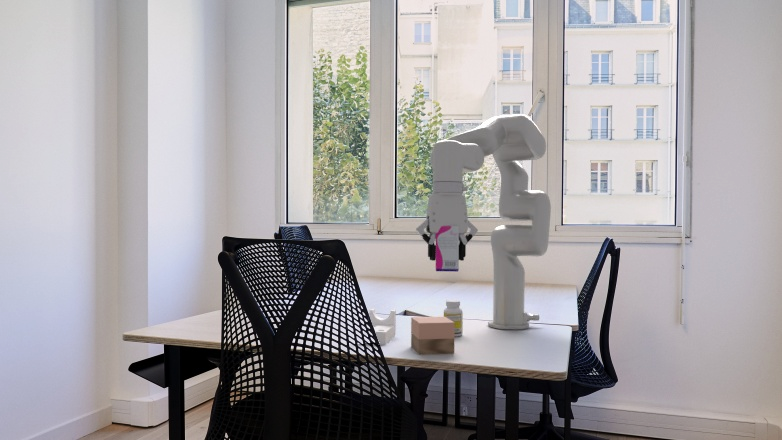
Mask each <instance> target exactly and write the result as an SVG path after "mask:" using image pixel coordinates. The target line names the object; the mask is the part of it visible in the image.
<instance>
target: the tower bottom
mask: <svg viewBox="0 0 782 440" xmlns="http://www.w3.org/2000/svg"><path fill="white" fill-rule="evenodd" d="M410 343H411V344H410V347H411V348H412V350H413V351H414V352H416V354H418V356H419V355H450V354H451V355H452V354H455V338H454V339H418V338H417V337H416V336H414V335H413V334H412V333H411V332H410Z"/></svg>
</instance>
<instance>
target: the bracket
mask: <svg viewBox="0 0 782 440" xmlns="http://www.w3.org/2000/svg"><path fill="white" fill-rule="evenodd" d="M375 309H376V308H370V309H369V311H368V312H369V313H368V314H369V315H368V316H370V319H371V321H372V324H373V327H374V329H375V332H376V335H377V338H378V340H379V342H380V344H379V345H384V344H386V345H387V344H388V343H389V342H390V341H392V339H394V337H396V336H395V335H396V333H397V332H396V330H397V328H396V327H397V326H396V325H397V324H396V322H397V321H396V320H397V319H396V318H397V317H396V316H397V315H396V314H397V310H396V309H391V310H390V313H389V315H388V316H387V317H385V318H382V317H380V316H378V314H377V313H376V310H375Z"/></svg>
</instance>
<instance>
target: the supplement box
mask: <svg viewBox="0 0 782 440" xmlns="http://www.w3.org/2000/svg"><path fill="white" fill-rule="evenodd" d="M435 245H436V260H435V271H436V272H459V269H460V267H459V262H460V260H459V226H441V228H440V229H439V231H438V233H436V239H435Z"/></svg>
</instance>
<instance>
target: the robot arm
mask: <svg viewBox="0 0 782 440" xmlns="http://www.w3.org/2000/svg"><path fill="white" fill-rule="evenodd" d="M432 148H433V149H432V150H431V152H430V157H429V162H430V166H431V168H432V194H430V195H428V200H427V208H426V217H425V220H424V221H423V222H422V223H421V224H420V225H419V226H417V227H416V229H415V231H416V232H417V233H418V235H419V236H420V237H421V238H422V239H423V241H424V242H425V243H426V245H427V257H428V258H429V261H434V262H436V244H435V242H436V233H438V231H439V229H440V228H441V226H459V261H465V258H466V256H467V254H466V253H467V251H466V250H467V248H466V247H467V246H466V245H468V243H469V242H470V241H471V240H472V238H473V237H474V236H475V235H476V234H477V232H478V230H479V229H478V228H477V227H476V226H475V225H474V224H473V223H472V222H471V221H470V220H468V219H469V216H468V207H467V200H466V196H465V195H463V194H464V192H467V191H468V190H469V187H468V185H464V182H463V180H464V178H463V177H464V176H463V175H464V173H472V172H473V173H474V172H476V171H479V170H480V169H481V168H482V167H483V165H484V163H485V157H488V156H490V155H492V157H493V159H494V162H495V163H496V166H497V168H498V170H499V171H498V172H499V174H500V189H499V197H498V198H499V200H498V201H499V202H498V214H499V215H498V216H500V218H501V220H504V221H508V222H531V224H530V225H529V224H528V225H527V224H522V225H521V224H502V225H498V226H496V227H495V228H493V230H492V231H491V234H490V243H491V244H490V245H491V251H492V257H493V258H492V261H493V298H492V299H493V302H492V303H493V308H492V309H493V310H492V311H493V312H492V313H493V314H492V315H493V316H492V320H489V321H488V322H487V326H488V327H490V328H494V329H500V330H517V331H518V330H525V329H529V327H530V323H529V322H530V321H533V322H534V321H535V322H536V321H540V315H539V313H536V314H531V313H528V312H526V311H525V281H526V280H525V279H526V278H525V277H526V275H525V274H526V272H525V268H524V265H523V263H522V262H521V261H520V259H519V257H537V258H538V257H542V256H544V255H545V254H546V252H547V251H548V247H549V240H550V224H551V209H552V207H551V206H552V205H551V200H550V197H549V195H548V194H547V193H546V192H545V191H542V190H528V189H529V175H528V172H527V170H526V169H525V168H524V167H523V165H522V164H521V163H520V162H521V161H537V160H541V158H543V157H544V155H545V154H546V150H547V142H546V137H545V136H544V134H543V133H542V132H541V129H539V127H538V126H537V124H535V122H534V121H533V120H532V119H531V118H530V117H529V116H527V115H526V114H523V113H522V114H520V113H519V114H509V115H499V116H493V117H491V118H489V119H487V120H486V121H484V122H483V123H481V125H478V126H477V127H476V128H473V129H471V130H468V131H465V132H463V133H462V132H461V133H459V134H456V135H453V136H450V137H448V138H445V139H443V140H439V141H436V142H435V143H434V145H433V147H432ZM519 161H520V162H519ZM425 231H426V232H425ZM468 231H469V232H468ZM427 233H428V234H429V235H428V234H427ZM466 233H467V234H466ZM465 234H466V235H465Z"/></svg>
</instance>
